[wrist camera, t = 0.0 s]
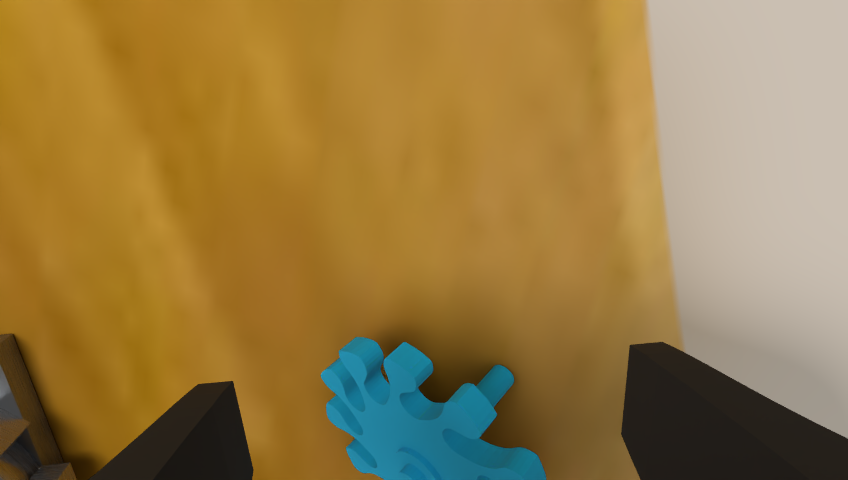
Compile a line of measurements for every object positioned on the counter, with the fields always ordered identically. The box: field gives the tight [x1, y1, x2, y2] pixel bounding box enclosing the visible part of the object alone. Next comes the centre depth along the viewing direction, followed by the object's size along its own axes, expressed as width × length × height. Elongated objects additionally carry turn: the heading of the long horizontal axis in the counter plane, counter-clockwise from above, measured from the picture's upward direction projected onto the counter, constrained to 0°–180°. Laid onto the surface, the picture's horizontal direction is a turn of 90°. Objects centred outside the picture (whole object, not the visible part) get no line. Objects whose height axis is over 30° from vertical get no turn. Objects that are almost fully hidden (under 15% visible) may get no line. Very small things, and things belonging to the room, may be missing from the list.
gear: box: [320, 337, 546, 480], centre depth 20 cm, size 11×6×10 cm
